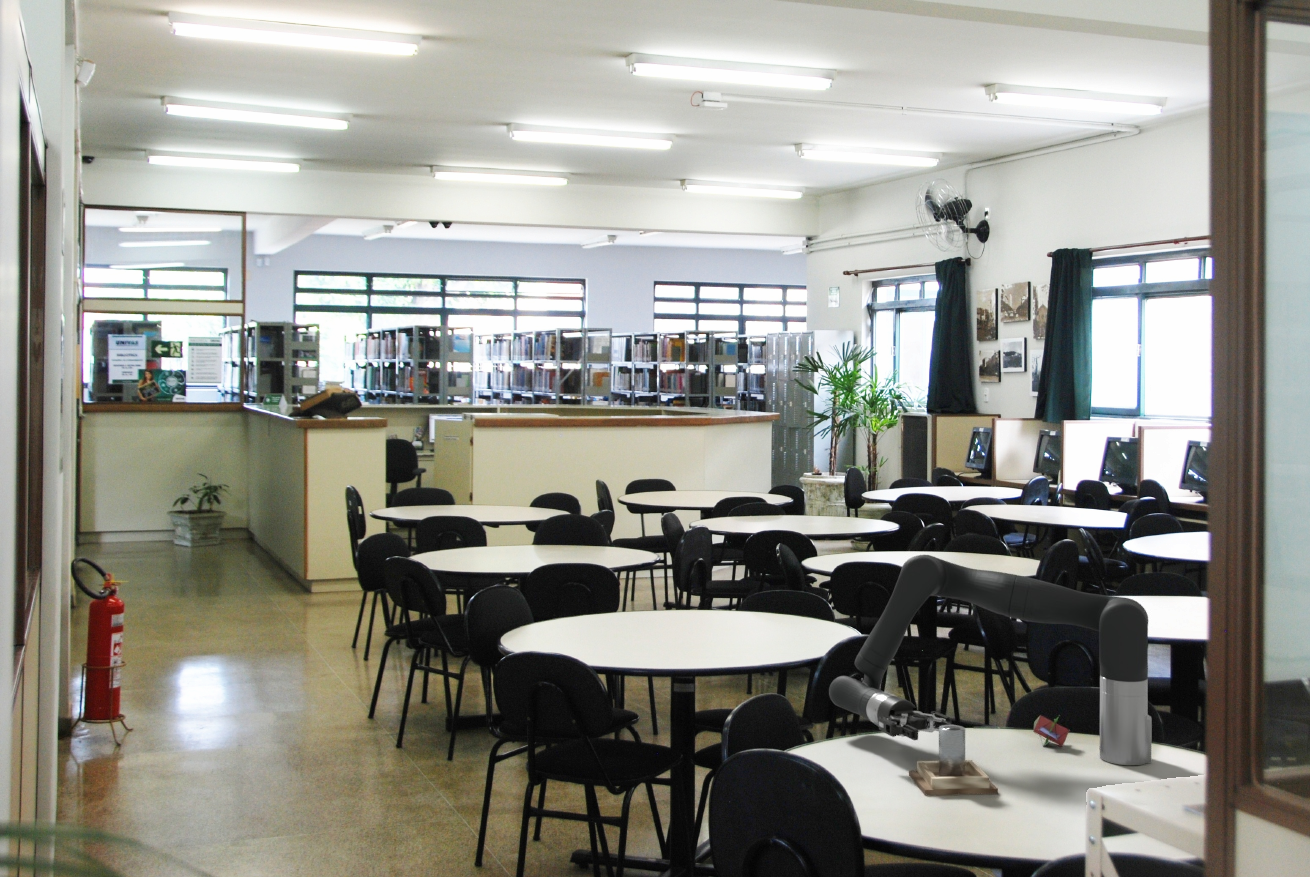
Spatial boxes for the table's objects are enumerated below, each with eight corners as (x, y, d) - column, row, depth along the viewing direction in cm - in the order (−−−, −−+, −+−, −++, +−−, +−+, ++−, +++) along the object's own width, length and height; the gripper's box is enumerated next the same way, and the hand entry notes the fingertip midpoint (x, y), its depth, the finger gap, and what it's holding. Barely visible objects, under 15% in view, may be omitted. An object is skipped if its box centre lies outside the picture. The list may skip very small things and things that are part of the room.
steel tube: (960, 774, 232) (961, 724, 232) (968, 782, 227) (968, 731, 227) (935, 775, 232) (935, 724, 231) (942, 783, 227) (942, 731, 226)
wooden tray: (978, 774, 235) (978, 759, 235) (998, 793, 223) (998, 778, 223) (908, 775, 235) (908, 760, 235) (924, 795, 223) (924, 779, 223)
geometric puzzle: (1079, 735, 255) (1057, 703, 258) (1072, 742, 250) (1049, 710, 252) (1052, 750, 258) (1031, 719, 261) (1045, 758, 253) (1022, 726, 255)
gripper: (862, 698, 247) (904, 717, 232) (920, 692, 252) (965, 710, 237) (862, 733, 247) (904, 755, 232) (920, 727, 252) (965, 747, 237)
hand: (935, 732), depth 234 cm, fingers open, 8 cm apart
